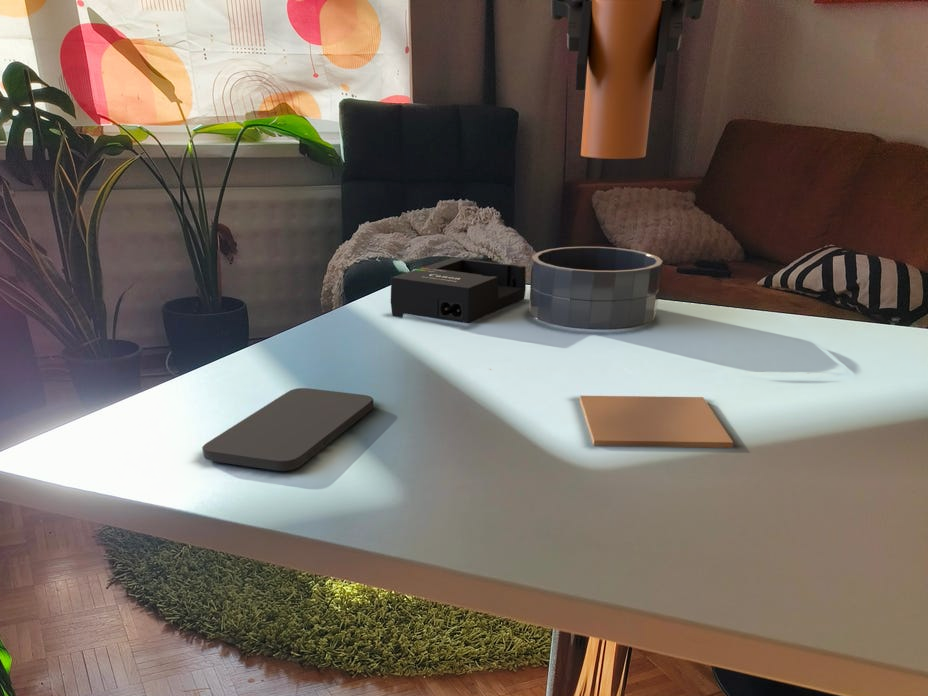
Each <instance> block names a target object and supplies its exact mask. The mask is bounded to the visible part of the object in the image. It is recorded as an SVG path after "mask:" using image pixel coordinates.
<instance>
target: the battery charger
mask: <svg viewBox="0 0 928 696" xmlns="http://www.w3.org/2000/svg"><path fill="white" fill-rule="evenodd" d="M526 272H527V271H526V265H517V264H509V263H500V262H493V261H484V260H476V259H467V258H462V257H461V258H459V257H450V258H447V259H444V260H441V261H438V262H435V263H432V264H429V265H426V266H422V267H420V268H416V269H414V270H409V271H407V272H405V273H402V274H398V275H395V276H391V277H390V308H391V316H392V317H398V318H403V317H404V315H410V316H411V315H412V316H417V317H424V318H428V319H429V318H431V319H436V320H443V321H450V322H456V323H462V324H471V323H474V322H475V321H478V320H480V319H482V318H485V317H487V316H489V315H491V314H493V313H494V314H495V313H496V312H498V311H500V310H502V309H505V308H507V307H509V306H512V305H514V304H517V303H519V302H520V301H523V300H525V297H526V290H527V284H526V283H527V281H526V278H527V277H526Z"/></svg>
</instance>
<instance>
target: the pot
mask: <svg viewBox="0 0 928 696" xmlns="http://www.w3.org/2000/svg"><path fill="white" fill-rule="evenodd" d="M663 262H664V261H663V260H662V259H661V258H660V257H659V256H657V255H654V254H651V253H649V252H646V251H645V252H644V251H641V250H635V249H628V248H620V247H609V246H607V247H606V246H565V247H557V248H549V249H545V250H541V251H538V252H536V253H535V254H533V255H532V256H531V269H530V287H529V288H530V290H529V306H528V307H529V309H528V311H529V314H530V316H532V317H533V318H534V319H535V320H538V321H540V322H543V323H545V324H546V323H547V324H549V325H554V326H558V327H564V328H573V329H582V330H620V329H621V330H622V329H630V328H631V329H632V328H636V327H640V326H641V327H642V326H644V325H646V324H650V323H651V322H653V320H654V319H655V317H656V316H657V308H658V301H659V293H660V284H661V279H662V278H661V277H662V271H663Z"/></svg>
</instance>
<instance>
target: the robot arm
mask: <svg viewBox="0 0 928 696" xmlns="http://www.w3.org/2000/svg"><path fill="white" fill-rule="evenodd" d="M705 4H706V0H662V9H661V18H660V27H659V36H658V46H657V55H656V65H655V74H654V83H653V91H655V92H656V91H663V87H664V81H665V74H666V67H667V57H668V53H676V52H678V51H679V49H680V47H681V41H682V35H683V24H684V20H686V19H688V18H690V19H692V20H700V19H701V18H702V17H703V14H704V9H705ZM591 10H592V0H550V16H551V18H552V19H553V20H556V21H557V20H561V19H563V18H565V19H566V20H567V22H568V24H567V33H566V39H567V40H566V47H567V51H568V52H577V59H576V74H575V75H576V77H575V90H576V91H585V90H586V77H587V63H588V51H589V37H590V24H591Z"/></svg>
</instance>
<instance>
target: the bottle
mask: <svg viewBox="0 0 928 696" xmlns="http://www.w3.org/2000/svg"><path fill="white" fill-rule="evenodd" d="M661 9H662V0H592V10H591V24H590V37H589V51H588V62H587V72H586V81H585V90H584V91H585V93H584V105H583V116H582V118H583V121H582V133H581V146H580V156H581V157H584V158H591V159H605V160H632V159H641V158H645V157H646V155H647V147H648V137H649V127H650V119H651V109H652V100H653V90H654V78H655V66H656V55H657V46H658V36H659V27H660V18H661Z"/></svg>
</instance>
